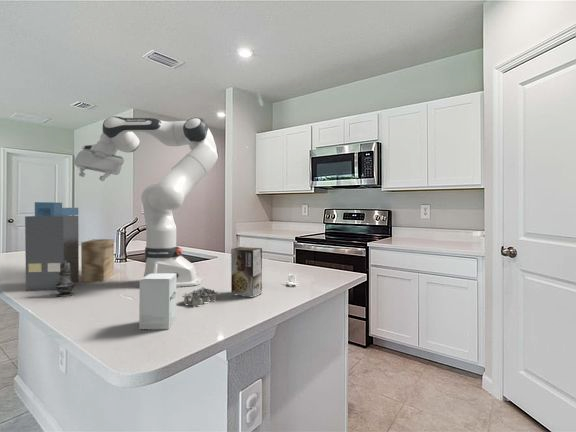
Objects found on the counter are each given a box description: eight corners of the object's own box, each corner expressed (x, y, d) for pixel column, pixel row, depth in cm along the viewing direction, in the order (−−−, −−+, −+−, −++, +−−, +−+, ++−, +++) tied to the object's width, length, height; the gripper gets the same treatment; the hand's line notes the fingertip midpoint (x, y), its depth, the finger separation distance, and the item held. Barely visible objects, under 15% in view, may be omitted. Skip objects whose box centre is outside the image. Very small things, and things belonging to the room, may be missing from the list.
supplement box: (169, 329, 81) (169, 278, 80) (138, 330, 80) (138, 278, 80) (177, 319, 88) (177, 272, 88) (148, 319, 88) (148, 272, 87)
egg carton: (196, 308, 98) (196, 295, 98) (179, 304, 102) (179, 292, 102) (219, 300, 107) (219, 288, 107) (203, 296, 111) (203, 285, 111)
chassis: (78, 281, 129) (78, 215, 128) (63, 289, 117) (63, 216, 116) (44, 282, 127) (43, 215, 126) (25, 290, 115) (24, 216, 114)
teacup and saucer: (294, 289, 124) (295, 278, 124) (277, 286, 128) (277, 275, 128) (305, 284, 131) (306, 274, 131) (289, 281, 136) (289, 272, 136)
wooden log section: (113, 274, 142) (113, 239, 142) (103, 281, 131) (103, 242, 130) (93, 275, 141) (93, 239, 140) (81, 281, 129) (81, 242, 129)
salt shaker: (80, 293, 113) (79, 258, 112) (66, 297, 107) (66, 261, 106) (64, 292, 113) (63, 257, 113) (50, 297, 107) (49, 260, 107)
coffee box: (262, 293, 115) (263, 247, 115) (253, 298, 109) (253, 250, 109) (240, 290, 119) (240, 246, 119) (230, 294, 113) (230, 248, 113)
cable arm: (81, 214, 137) (81, 202, 137) (53, 216, 116) (53, 202, 116) (65, 214, 136) (65, 202, 136) (34, 216, 115) (34, 202, 114)
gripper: (128, 161, 156) (116, 186, 151) (86, 152, 157) (73, 177, 151) (122, 153, 151) (110, 179, 145) (79, 144, 151) (65, 170, 145)
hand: (91, 178), depth 148 cm, fingers open, 8 cm apart
